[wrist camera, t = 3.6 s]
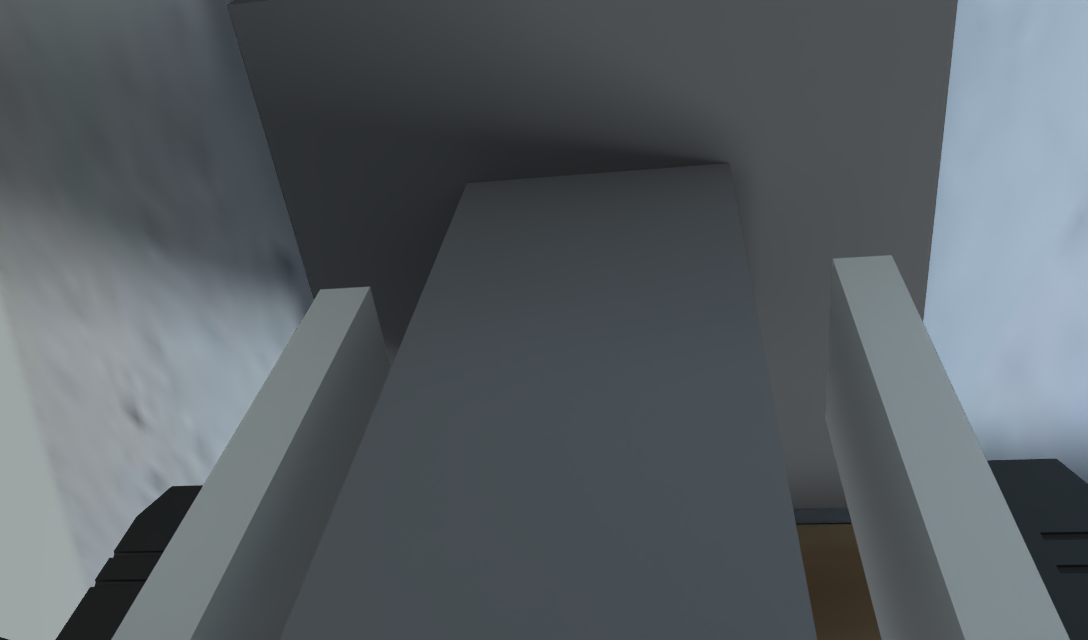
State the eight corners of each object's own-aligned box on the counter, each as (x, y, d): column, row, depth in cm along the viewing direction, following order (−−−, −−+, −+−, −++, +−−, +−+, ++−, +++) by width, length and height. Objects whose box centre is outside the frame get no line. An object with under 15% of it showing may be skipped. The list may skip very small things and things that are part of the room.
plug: (467, 183, 14) (26, 1255, 4) (729, 163, 14) (949, 1354, 4) (504, 390, 16) (269, 1441, 6) (733, 381, 16) (880, 1524, 6)
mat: (242, -6, 14) (227, 5, 13) (953, -84, 12) (965, -76, 12) (385, 497, 19) (378, 518, 18) (895, 484, 17) (902, 507, 17)
